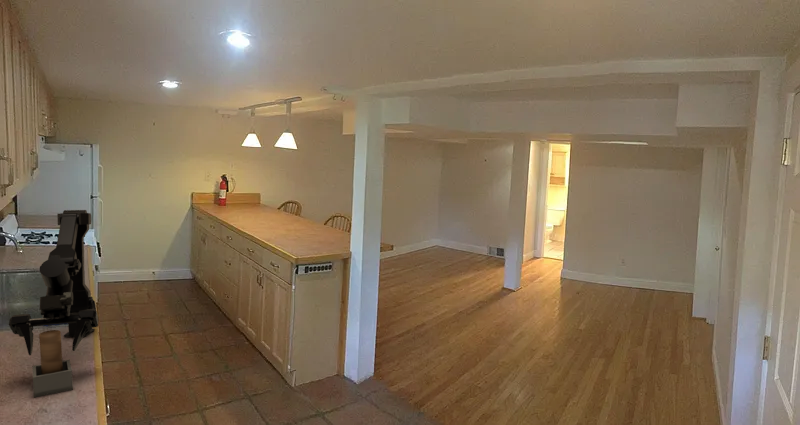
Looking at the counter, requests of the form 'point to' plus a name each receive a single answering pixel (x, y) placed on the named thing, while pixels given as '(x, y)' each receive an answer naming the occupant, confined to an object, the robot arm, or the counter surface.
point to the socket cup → (52, 380)
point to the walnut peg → (51, 351)
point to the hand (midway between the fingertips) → (51, 352)
